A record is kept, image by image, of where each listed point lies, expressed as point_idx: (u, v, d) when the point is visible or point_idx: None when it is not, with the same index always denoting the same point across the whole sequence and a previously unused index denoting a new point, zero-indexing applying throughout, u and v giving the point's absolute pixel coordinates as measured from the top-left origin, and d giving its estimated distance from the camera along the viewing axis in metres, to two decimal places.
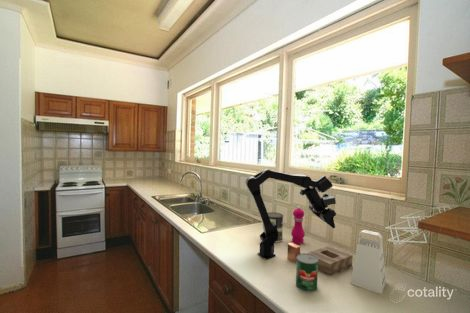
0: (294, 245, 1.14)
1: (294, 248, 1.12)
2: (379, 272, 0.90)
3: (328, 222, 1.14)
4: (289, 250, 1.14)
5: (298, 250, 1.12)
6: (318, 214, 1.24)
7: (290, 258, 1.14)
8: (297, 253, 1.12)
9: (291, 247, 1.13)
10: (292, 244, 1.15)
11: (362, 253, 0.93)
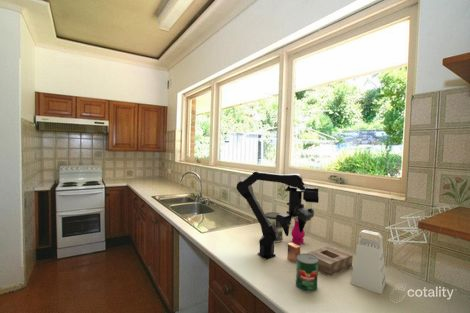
0: (294, 245, 1.14)
1: (294, 248, 1.12)
2: (379, 272, 0.90)
3: (282, 225, 1.12)
4: (289, 250, 1.14)
5: (298, 250, 1.12)
6: (299, 221, 1.17)
7: (290, 258, 1.14)
8: (297, 253, 1.12)
9: (291, 247, 1.13)
10: (292, 244, 1.15)
11: (362, 253, 0.93)
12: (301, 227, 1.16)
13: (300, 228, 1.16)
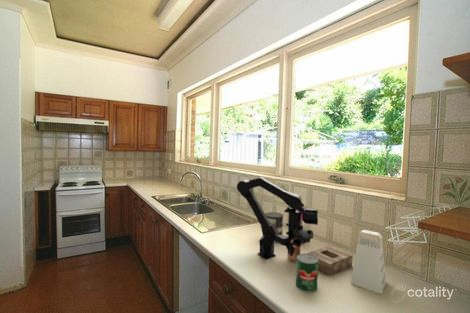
0: (294, 245, 1.14)
1: (294, 248, 1.12)
2: (379, 272, 0.90)
3: (286, 245, 1.14)
4: None
5: (298, 250, 1.12)
6: (294, 242, 1.16)
7: (290, 258, 1.14)
8: (297, 253, 1.12)
9: None
10: None
11: (362, 253, 0.93)
12: None
13: None
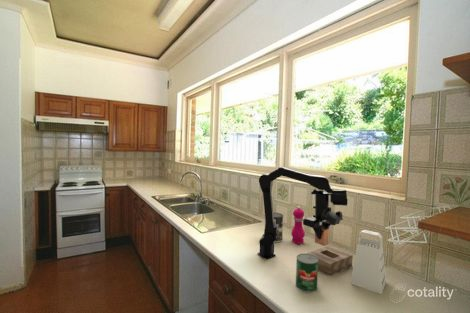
0: (322, 228, 1.10)
1: (322, 231, 1.08)
2: (379, 272, 0.90)
3: (314, 229, 1.10)
4: None
5: (327, 233, 1.08)
6: None
7: (318, 242, 1.10)
8: (326, 236, 1.08)
9: None
10: None
11: (362, 253, 0.93)
12: None
13: None
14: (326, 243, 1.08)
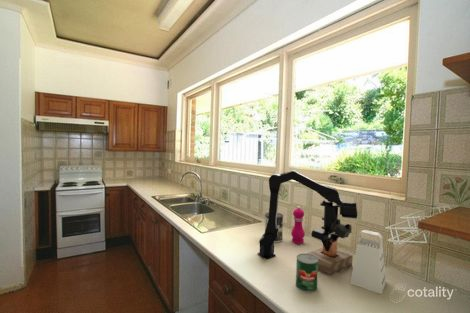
0: None
1: (331, 243, 1.07)
2: (379, 272, 0.90)
3: (322, 240, 1.09)
4: None
5: (335, 245, 1.07)
6: (330, 237, 1.11)
7: (326, 253, 1.09)
8: (334, 248, 1.07)
9: None
10: None
11: (362, 253, 0.93)
12: None
13: None
14: (334, 255, 1.07)
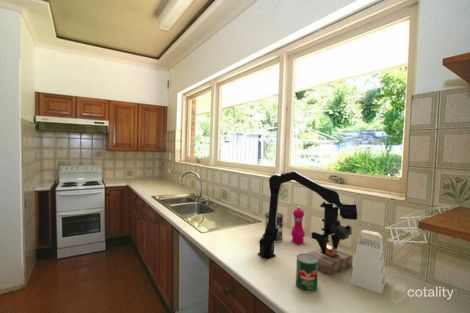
0: (330, 247, 1.09)
1: (331, 251, 1.07)
2: (379, 272, 0.90)
3: (319, 243, 1.08)
4: None
5: (335, 253, 1.08)
6: (333, 237, 1.13)
7: None
8: (334, 256, 1.07)
9: (327, 250, 1.09)
10: (328, 246, 1.10)
11: (362, 253, 0.93)
12: (335, 244, 1.11)
13: (334, 245, 1.12)
14: None
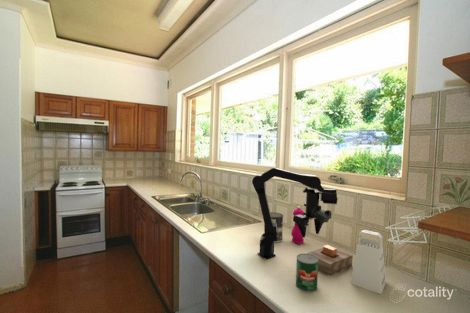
0: (330, 247, 1.09)
1: (331, 251, 1.07)
2: (379, 272, 0.90)
3: (299, 227, 1.12)
4: (325, 253, 1.10)
5: (335, 253, 1.08)
6: (316, 222, 1.17)
7: None
8: (334, 256, 1.07)
9: (327, 250, 1.09)
10: (328, 246, 1.10)
11: (362, 253, 0.93)
12: (317, 229, 1.16)
13: (316, 230, 1.16)
14: None
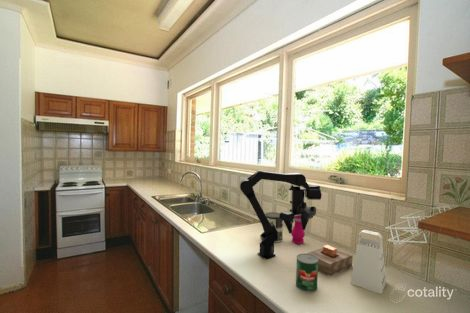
0: (330, 247, 1.09)
1: (331, 251, 1.07)
2: (379, 272, 0.90)
3: (286, 223, 1.15)
4: (325, 253, 1.10)
5: (335, 253, 1.08)
6: (302, 218, 1.21)
7: None
8: (334, 256, 1.07)
9: (327, 250, 1.09)
10: (328, 246, 1.10)
11: (362, 253, 0.93)
12: (304, 225, 1.20)
13: (303, 226, 1.20)
14: None
